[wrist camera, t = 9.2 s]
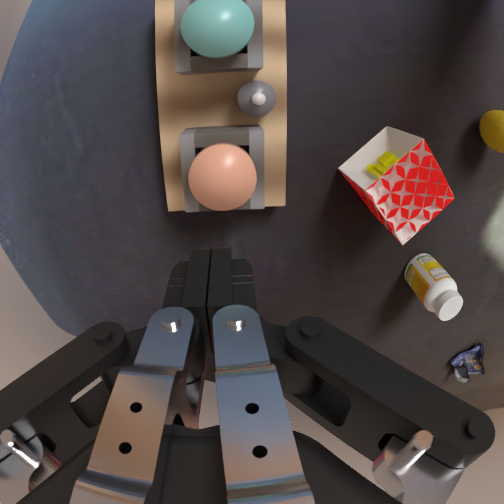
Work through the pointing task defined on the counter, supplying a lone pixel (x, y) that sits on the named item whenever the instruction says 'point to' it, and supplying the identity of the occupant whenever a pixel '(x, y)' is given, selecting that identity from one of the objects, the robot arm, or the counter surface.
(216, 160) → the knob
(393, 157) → the red patterned cube box
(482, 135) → the lemon
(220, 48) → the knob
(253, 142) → the mount
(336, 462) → the robot arm
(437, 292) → the supplement bottle
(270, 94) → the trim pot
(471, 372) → the snack package
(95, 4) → the counter surface
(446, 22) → the counter surface
